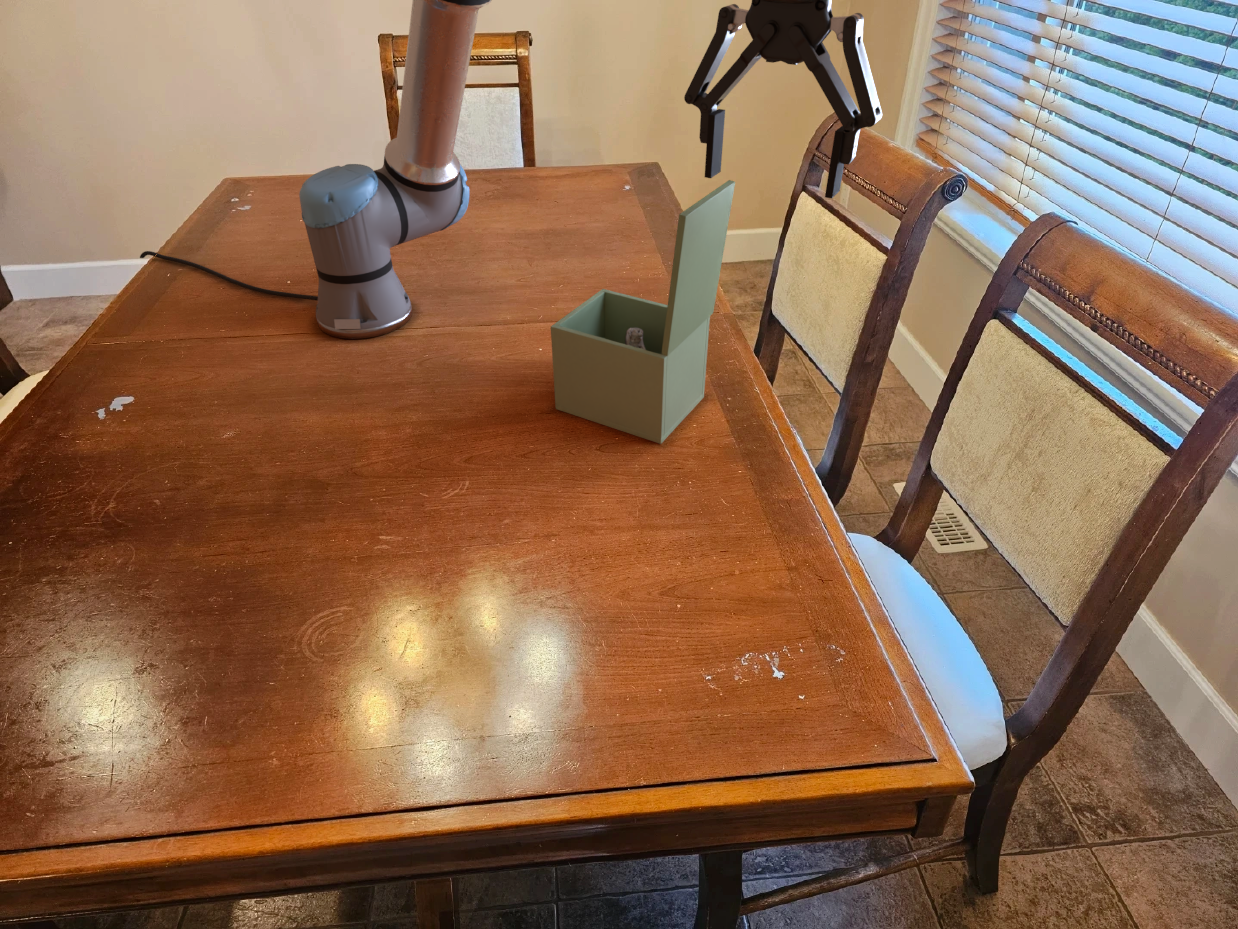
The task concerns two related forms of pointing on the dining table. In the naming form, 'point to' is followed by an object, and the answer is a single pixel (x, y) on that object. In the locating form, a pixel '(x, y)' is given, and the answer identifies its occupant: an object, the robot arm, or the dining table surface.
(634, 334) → the flask
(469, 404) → the dining table surface
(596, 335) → the chest
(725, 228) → the lid
